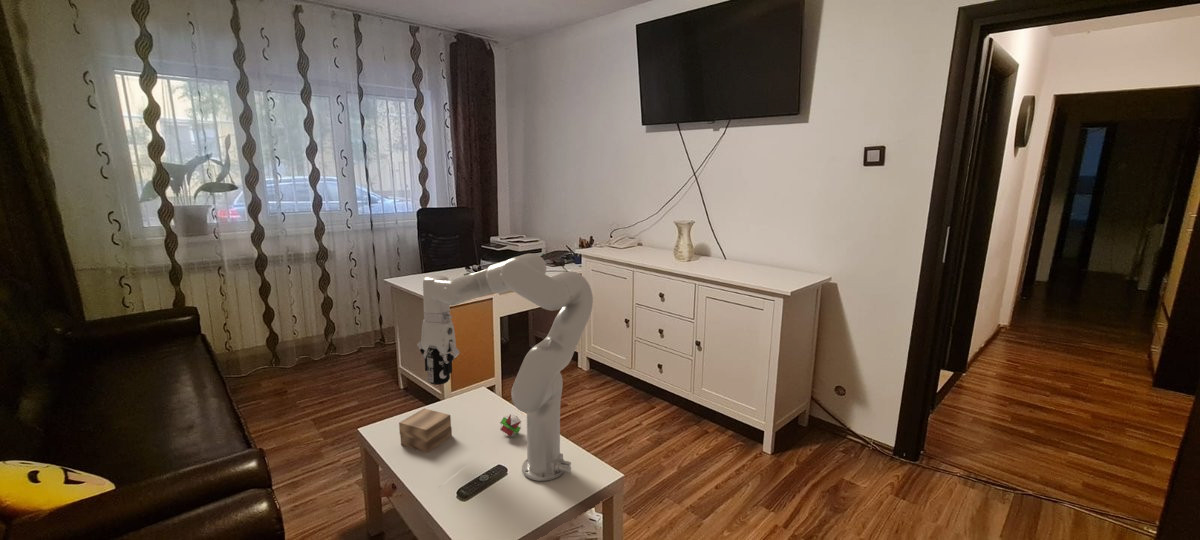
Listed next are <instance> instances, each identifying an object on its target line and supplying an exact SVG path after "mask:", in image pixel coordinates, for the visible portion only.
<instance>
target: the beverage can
mask: <svg viewBox="0 0 1200 540" xmlns="http://www.w3.org/2000/svg"><path fill="white" fill-rule="evenodd" d="M428 347H429V348H428V349H427V370H428V371H427V382H429V383H430V385H433V386H434V385H435V386H437V385H439V386H440V385H444V384H446V383H448V382H449V381H450V378H451V373H450V374H448V375H447V376H444V374H443V363H445V361H444V359H443V355H442V354H440V352H439V351H438V350H437V348H435V347H430V346H428ZM447 357H448V358H449V356H448V354H447Z"/></svg>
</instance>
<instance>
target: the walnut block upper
mask: <svg viewBox="0 0 1200 540" xmlns="http://www.w3.org/2000/svg"><path fill="white" fill-rule="evenodd" d="M451 421H452V419H451V414H449V413H448V414H447V413H443V412H440V411H436V410H432V409H428V408H424V407H423V409H421V410H419V411H417V412H416V413H414V414H412V415H410V416H408V417H407V418H405V419H403V420H401V421H400V422H398V426H399V427H398V429H399V436H400V435H404V436H407V437H411V438H414V439H418V440H421V441H425V442H428V441H429V440H431V439H432V438H434V437H435V436H437V435H438V434H440V433H442V432H443V431H445V430H446V429H448V428H449V427H451V428H452V422H451Z"/></svg>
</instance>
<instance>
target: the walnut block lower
mask: <svg viewBox="0 0 1200 540" xmlns="http://www.w3.org/2000/svg"><path fill="white" fill-rule="evenodd" d="M452 430H453V429H452V426H451V427H449V428H448V429H446V430H445V431H443V432H442V433H440V434H438V435H437V436H435V437H434V438H432V439H431V440H429V441H428V442H425V441H421V440H418V439H414V438H411V437H407V436H404V435H400V434H399V436H400V445H401V446H403V447H407V448H410V449H414V450H417V451H420V452H424V453H427V454H428V453H430V452H432V451H433V450H434V449H436V448H437V447H439V446H440V445H441V444H443V443H444V442H446V441H447V440H448V439H450V438H451V437H453V435H452V434H453V431H452Z"/></svg>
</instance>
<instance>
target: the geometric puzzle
mask: <svg viewBox="0 0 1200 540" xmlns="http://www.w3.org/2000/svg"><path fill="white" fill-rule="evenodd" d="M499 424H500V431H501V432H502V434H503V435H504V436H513V435H514V434H515V435H514V436H517V435H519V433H520V430H521V429H522V427H521V426H520V425H522V420H521V419H520V418H519V417H518V416H517V415H514V414H511V413H509V415H507V416H503V418H502V419H501V420H500V422H499Z"/></svg>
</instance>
